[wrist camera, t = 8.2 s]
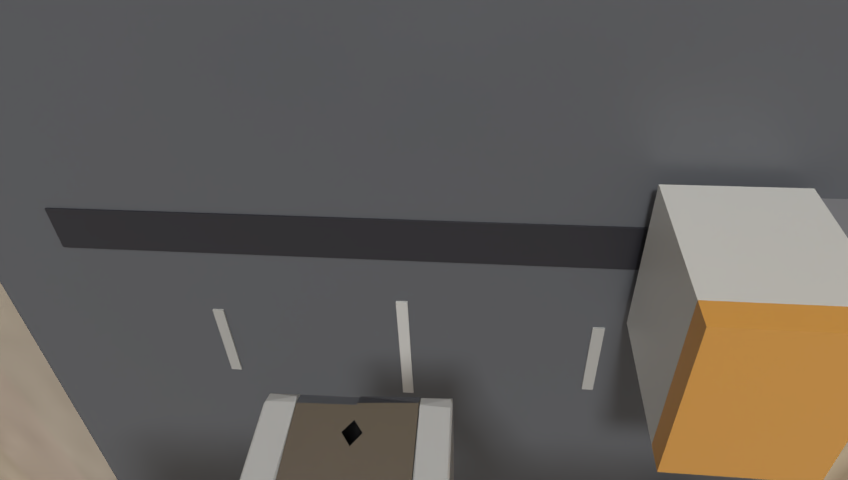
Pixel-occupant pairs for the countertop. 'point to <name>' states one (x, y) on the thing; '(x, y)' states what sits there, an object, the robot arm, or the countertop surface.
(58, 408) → the countertop surface
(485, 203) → the console
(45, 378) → the countertop surface
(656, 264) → the fader
